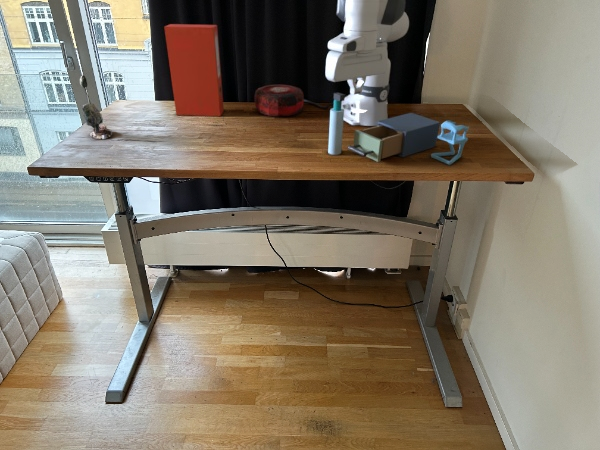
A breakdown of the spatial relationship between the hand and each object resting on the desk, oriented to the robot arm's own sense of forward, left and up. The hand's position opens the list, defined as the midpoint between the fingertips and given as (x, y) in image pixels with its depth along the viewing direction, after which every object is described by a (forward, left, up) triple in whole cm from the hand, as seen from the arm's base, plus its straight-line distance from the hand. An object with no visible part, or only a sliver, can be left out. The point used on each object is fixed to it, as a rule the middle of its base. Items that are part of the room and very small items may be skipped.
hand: (355, 93), depth 122 cm
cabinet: (0, +25, -21) cm, 33 cm away
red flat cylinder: (-56, +12, -21) cm, 61 cm away
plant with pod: (-66, -56, -22) cm, 90 cm away
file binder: (-71, -16, -22) cm, 76 cm away
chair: (+15, +29, -22) cm, 39 cm away
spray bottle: (-9, +2, -21) cm, 23 cm away
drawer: (0, +12, -20) cm, 24 cm away
